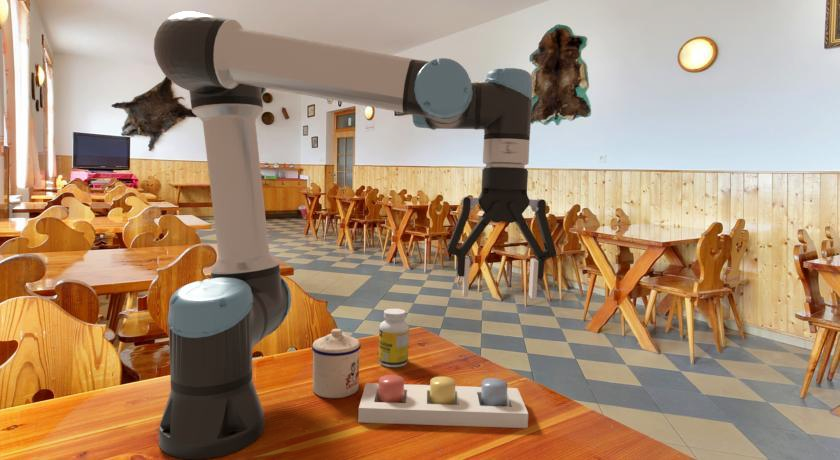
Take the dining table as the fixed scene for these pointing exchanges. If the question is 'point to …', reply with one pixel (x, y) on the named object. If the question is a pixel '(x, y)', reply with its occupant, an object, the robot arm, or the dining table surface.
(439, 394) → the mustard button
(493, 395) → the blue button
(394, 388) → the red button
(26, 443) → the dining table surface
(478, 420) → the panel
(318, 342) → the teacup with lid
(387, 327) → the pill bottle
